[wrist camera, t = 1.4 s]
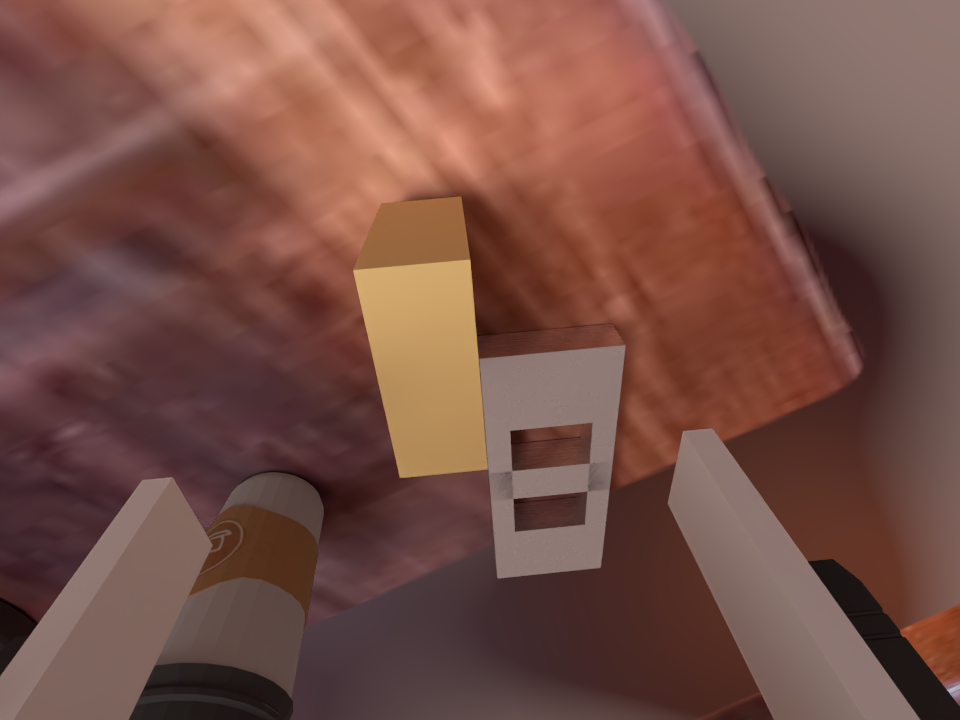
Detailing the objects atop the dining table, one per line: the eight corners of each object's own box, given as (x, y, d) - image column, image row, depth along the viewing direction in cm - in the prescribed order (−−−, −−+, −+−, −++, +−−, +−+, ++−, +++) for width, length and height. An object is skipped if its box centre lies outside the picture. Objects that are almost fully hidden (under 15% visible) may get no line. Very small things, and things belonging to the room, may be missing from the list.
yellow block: (473, 343, 28) (487, 469, 19) (412, 349, 28) (399, 478, 19) (459, 185, 23) (470, 259, 15) (386, 191, 23) (353, 269, 15)
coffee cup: (289, 441, 31) (184, 703, 18) (362, 514, 35) (318, 769, 23) (190, 487, 33) (31, 758, 20) (271, 552, 37) (182, 809, 24)
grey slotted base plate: (592, 540, 39) (600, 567, 37) (494, 550, 38) (497, 578, 36) (611, 323, 28) (625, 345, 26) (476, 336, 28) (479, 358, 26)
